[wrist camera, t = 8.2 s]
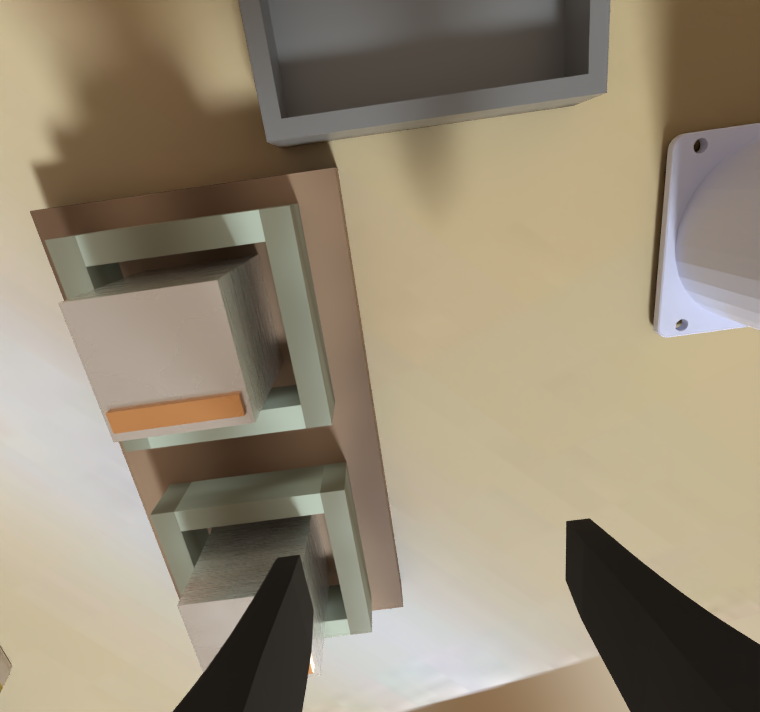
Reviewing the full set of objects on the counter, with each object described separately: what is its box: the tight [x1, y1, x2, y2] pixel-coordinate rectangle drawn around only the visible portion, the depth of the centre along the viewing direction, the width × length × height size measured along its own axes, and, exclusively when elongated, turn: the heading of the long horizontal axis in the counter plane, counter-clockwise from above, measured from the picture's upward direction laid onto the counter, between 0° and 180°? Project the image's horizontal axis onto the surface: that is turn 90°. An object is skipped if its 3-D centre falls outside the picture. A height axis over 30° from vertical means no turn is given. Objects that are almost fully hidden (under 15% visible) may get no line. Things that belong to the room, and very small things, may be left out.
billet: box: [177, 514, 330, 677], centre depth 19 cm, size 4×4×5 cm
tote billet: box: [59, 254, 283, 442], centre depth 15 cm, size 4×4×5 cm
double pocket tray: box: [30, 167, 403, 638], centre depth 20 cm, size 11×21×4 cm, turn 8°
